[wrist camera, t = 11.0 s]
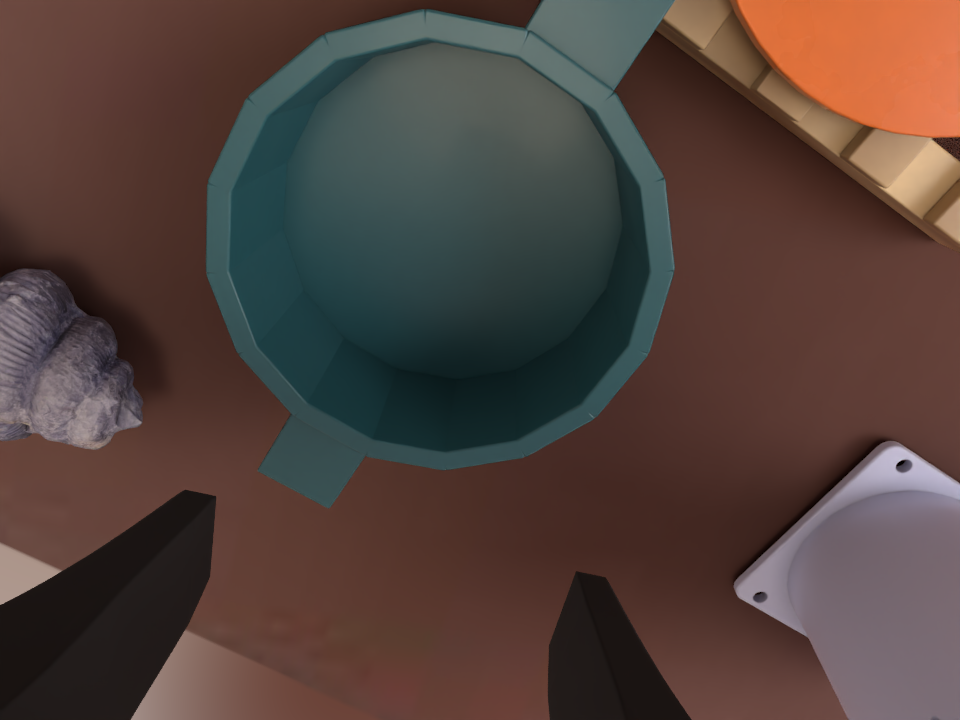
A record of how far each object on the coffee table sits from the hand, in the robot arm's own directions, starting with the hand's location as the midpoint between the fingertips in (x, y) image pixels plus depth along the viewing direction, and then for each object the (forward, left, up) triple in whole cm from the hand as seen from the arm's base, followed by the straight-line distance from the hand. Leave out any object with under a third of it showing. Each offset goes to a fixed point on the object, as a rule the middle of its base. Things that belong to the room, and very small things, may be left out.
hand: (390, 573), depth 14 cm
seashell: (+12, +6, -11) cm, 17 cm away
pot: (+2, -4, -10) cm, 11 cm away
